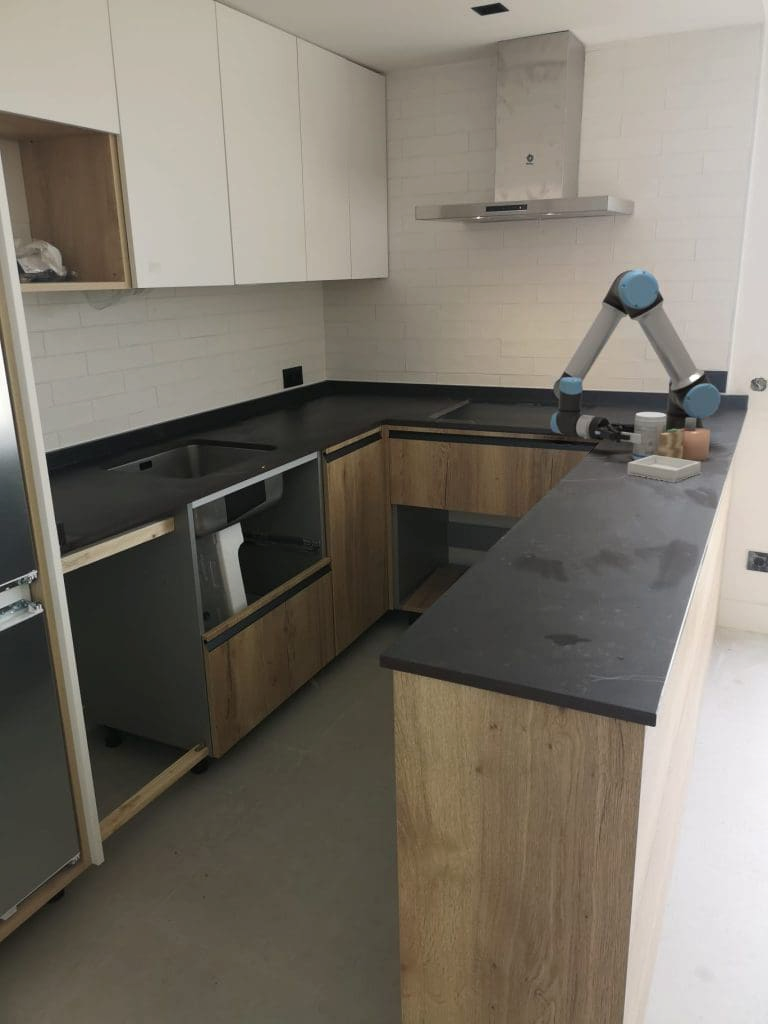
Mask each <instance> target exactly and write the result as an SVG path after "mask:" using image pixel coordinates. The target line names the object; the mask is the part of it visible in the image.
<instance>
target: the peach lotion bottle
mask: <svg viewBox="0 0 768 1024" xmlns="http://www.w3.org/2000/svg"><path fill="white" fill-rule="evenodd" d="M696 419H697V418H694V417H686V420H685V428H682V429H684V430H685V433H684V444H683V455H682V459H684V460H690V461H696V462H703V461H702V460H705V461H707V460H708V458H709V450H710V449H709V448H710V441H711V440H710V438H711V430H710V429H707V428H704V429H702V428H696Z"/></svg>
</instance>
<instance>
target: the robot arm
mask: <svg viewBox="0 0 768 1024" xmlns="http://www.w3.org/2000/svg"><path fill="white" fill-rule="evenodd" d="M659 288H660V287H659V284H658V280H657V278H656V277H655V276H654V275H653V274H652V273H650V272H649V271H646V270H643V269H631V270H629V269H628V270H626V271H623V272H621V273H619V275H617V276H616V278H615V279H614V280H613V282H612V283H611V285H610V287H609V289H608V291H607V293H606V295H605V296H604V298H603V300H602V302H601V306H602V307H601V308H600V311H599V313H598V314H597V315H596V317H595V319H594V321H593V323H592V324H591V326H590V328H589V329H588V331H587V332H586V334H585V336H584V337H583V339H582V341H581V342H580V344H579V346H578V347H577V349H576V351H575V353H574V354H573V356H572V357H571V359H570V360H569V362H568V364H567V366H566V367H565V369H564V371H563V373H562V374H561V375H560V377H559V378H558V379H557V380H556V381H555V382H554V384H553V386H552V387H553V389H552V390H553V394H554V396H555V397H556V398H557V399H558V411H555V412H554V413H553V414H552V415H551V420H550V423H549V424H550V425H549V426H550V429H551V431H552V432H553V433H556V434H560V435H563V436H571V437H578V438H583V439H584V440H587V439H592V440H598V441H604V440H608V441H610V442H611V441H612V442H615V443H618V444H620V443H621V441H622V442H627V443H641V434H634V424H635V423H633V424H632V423H619V422H618V423H615V422H612V423H611V424H610V422H609V420H608V418H606V417H602V416H596V415H589V414H582V399H583V389H584V388H583V382H584V380H585V379H586V377H587V376H588V374H589V372H590V371H591V369H592V368H593V365H594V364H595V363H596V361H597V359H598V358H599V356H600V354H601V353H602V351H603V350H604V348H605V346H606V345H607V343H608V341H609V340H610V338H611V337H612V335H613V333H614V331H615V330H616V329H617V328H618V327H617V326H618V325H619V323H620V322H621V320H622V319H623V318H627V316H628V317H629V318H630V320H632V321H636V322H637V323H638V324H639V326H640V328H641V329H642V331H643V333H644V335H645V336H646V338H647V340H648V342H649V343H650V345H651V347H652V349H653V351H654V352H655V354H656V356H657V357H658V359H659V361H660V363H661V365H662V366H663V368H664V370H665V372H666V373H667V375H668V377H669V382H668V394H667V395H668V396H667V409H666V419H667V420H666V432H667V430H670V429H682V428H685V420H686V417H694V418H697V419H696V428H702V429H705V428H704V423H703V419H704V418H708V417H711V416H712V415H714V413H715V412H716V411H717V410H718V408H719V406H720V404H721V394H720V391H719V389H718V388H717V387H716V386H715V385H714V384H712V383H711V380H710V379H709V377H708V375H707V374H706V373H705V371H704V370H703V369H699V368H697V367H696V364H695V363H694V361H693V358H691V356H690V354H689V352H688V350H687V349H686V347H685V345H684V343H683V342H682V340H681V337H680V336H679V334H678V333H677V331H676V329H675V327H674V326H673V323H672V322H671V320H670V318H669V316H668V315H667V313H666V311H665V309H664V308H663V304H664V301H665V300H664V299H665V298H664V297H663V295H662V294H661V292H660V289H659Z"/></svg>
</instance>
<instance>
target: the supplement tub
mask: <svg viewBox="0 0 768 1024" xmlns="http://www.w3.org/2000/svg"><path fill="white" fill-rule="evenodd" d="M634 417H635V418H634V423H633V424H634V434H641V443H633V442H632V443H633V444H632V459H633V461H635V460H639V459H642V458H645V457H648V456H652V455H658V446H659V434H662V433H665V432H666V420H667V419H666V417H667V413H663V412H658V411H657V412H656V411H642V412H637V413H636V414H635V416H634Z"/></svg>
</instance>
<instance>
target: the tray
mask: <svg viewBox="0 0 768 1024" xmlns="http://www.w3.org/2000/svg"><path fill="white" fill-rule="evenodd" d="M701 463H702V461H690V460H684V459H677V458H671V457H665V456H658V455H652V456H648V457H645V458H642V459H639V460H633V461H630V462H628V463H627V474H626V475H628V474H629V475H630V476H634V475H635V476H634V477H639V476H641V477H640V478H645V477H647V479H650V478H652V479H651V480H656V479H657V480H658V481H661V480H663V481H662V482H667V481H668V483H672V484H675V482H676V483H678V482H680V481H684V480H686V478H687V479H689V478H688V477H690V478H692V477H694V475H695V476H697V474H698V475H700V474H701V466H702V465H701ZM629 475H628V476H629ZM691 476H692V477H691ZM683 479H684V480H683ZM657 480H656V481H657Z"/></svg>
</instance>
